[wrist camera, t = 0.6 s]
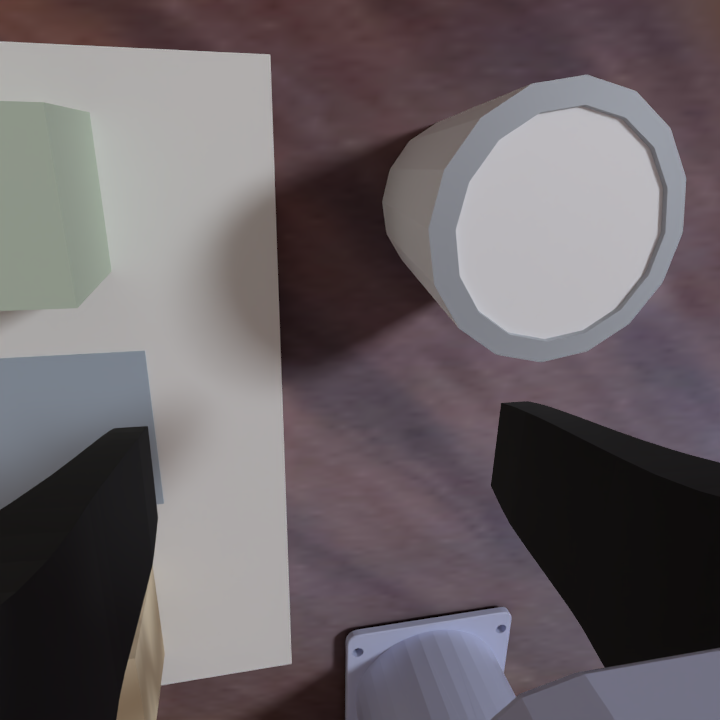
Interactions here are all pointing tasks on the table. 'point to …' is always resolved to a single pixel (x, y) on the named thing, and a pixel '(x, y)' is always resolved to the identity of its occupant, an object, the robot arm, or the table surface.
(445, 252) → the white tumbler
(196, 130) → the blueprint baseplate
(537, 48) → the table surface
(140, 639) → the maple block
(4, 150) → the sage block
